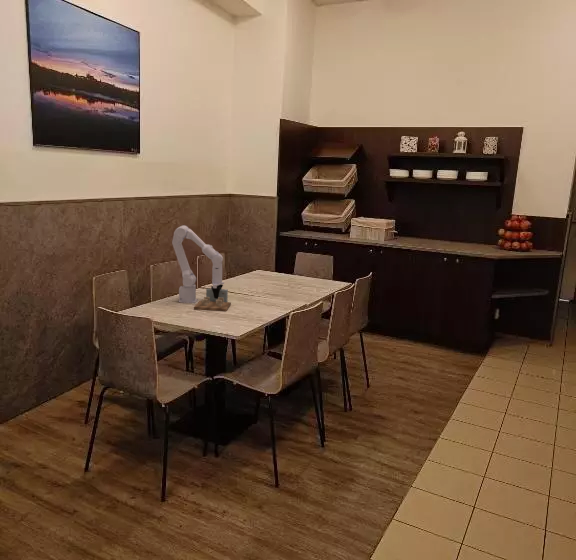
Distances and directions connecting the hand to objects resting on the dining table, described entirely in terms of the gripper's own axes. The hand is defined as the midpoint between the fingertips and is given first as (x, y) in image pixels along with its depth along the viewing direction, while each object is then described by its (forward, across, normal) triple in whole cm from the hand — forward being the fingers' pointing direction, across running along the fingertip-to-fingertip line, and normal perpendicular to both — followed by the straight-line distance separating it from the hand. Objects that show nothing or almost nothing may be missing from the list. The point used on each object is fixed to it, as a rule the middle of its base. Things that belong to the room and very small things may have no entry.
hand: (216, 297), depth 294 cm
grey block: (+2, 0, 0) cm, 2 cm away
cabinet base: (+3, -12, 0) cm, 12 cm away
